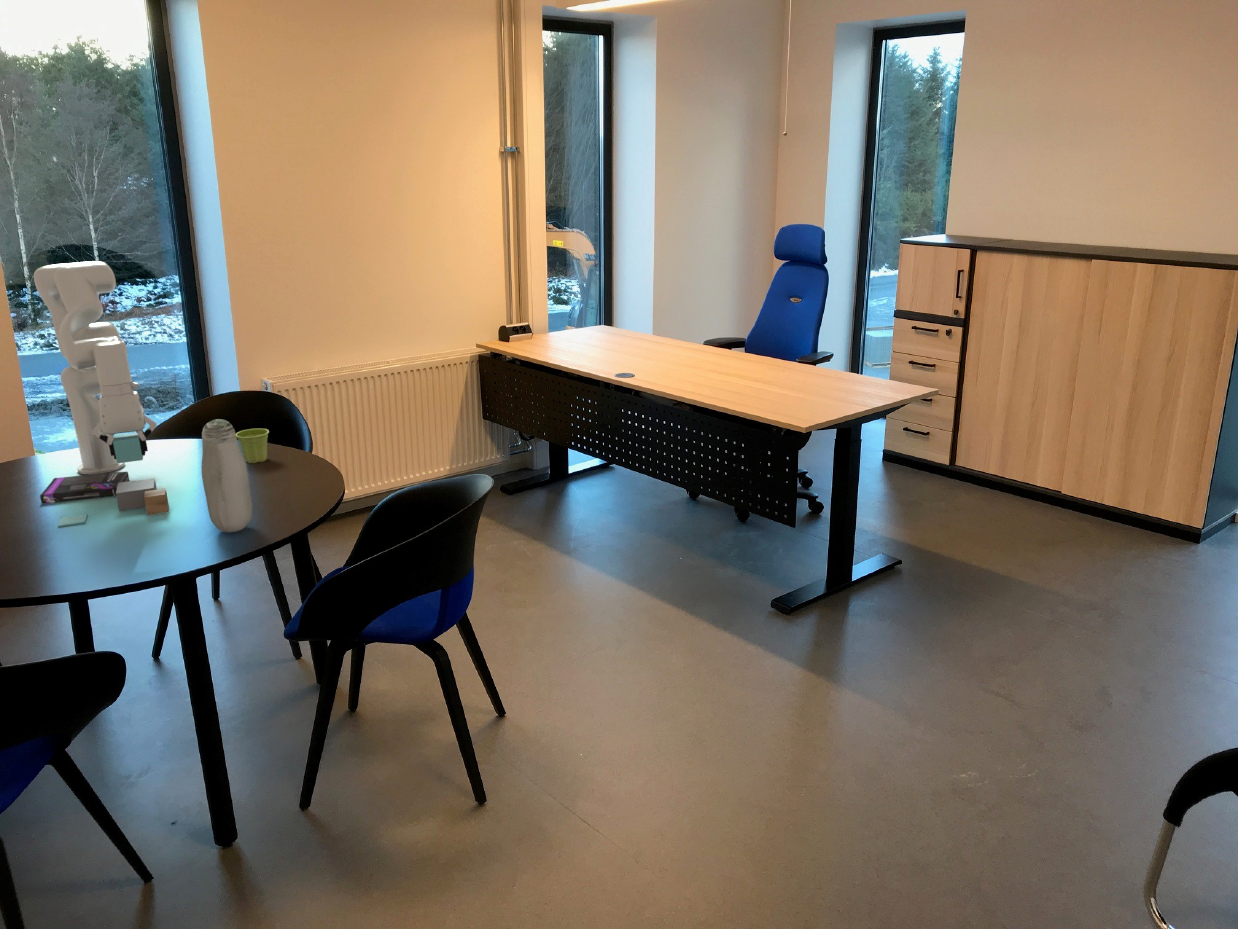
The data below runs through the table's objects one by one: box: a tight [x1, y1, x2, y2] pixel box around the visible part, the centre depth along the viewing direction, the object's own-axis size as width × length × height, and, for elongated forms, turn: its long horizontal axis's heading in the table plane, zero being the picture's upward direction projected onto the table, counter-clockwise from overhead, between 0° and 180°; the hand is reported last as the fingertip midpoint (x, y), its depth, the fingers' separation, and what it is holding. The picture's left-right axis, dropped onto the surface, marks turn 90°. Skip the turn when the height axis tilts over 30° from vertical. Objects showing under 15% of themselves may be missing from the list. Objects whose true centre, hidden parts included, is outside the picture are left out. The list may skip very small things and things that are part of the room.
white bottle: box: [200, 418, 253, 533], centre depth 241 cm, size 10×10×28 cm
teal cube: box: [113, 432, 144, 463], centre depth 260 cm, size 6×6×6 cm
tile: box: [57, 513, 88, 528], centre depth 254 cm, size 6×6×1 cm
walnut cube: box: [144, 488, 170, 516], centre depth 259 cm, size 5×5×5 cm
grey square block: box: [115, 477, 158, 512], centre depth 265 cm, size 9×9×5 cm
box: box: [39, 471, 130, 504], centre depth 275 cm, size 14×4×20 cm
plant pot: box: [235, 428, 270, 464], centre depth 297 cm, size 9×9×9 cm
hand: (130, 455), depth 261 cm, fingers closed on teal cube, 6 cm apart
